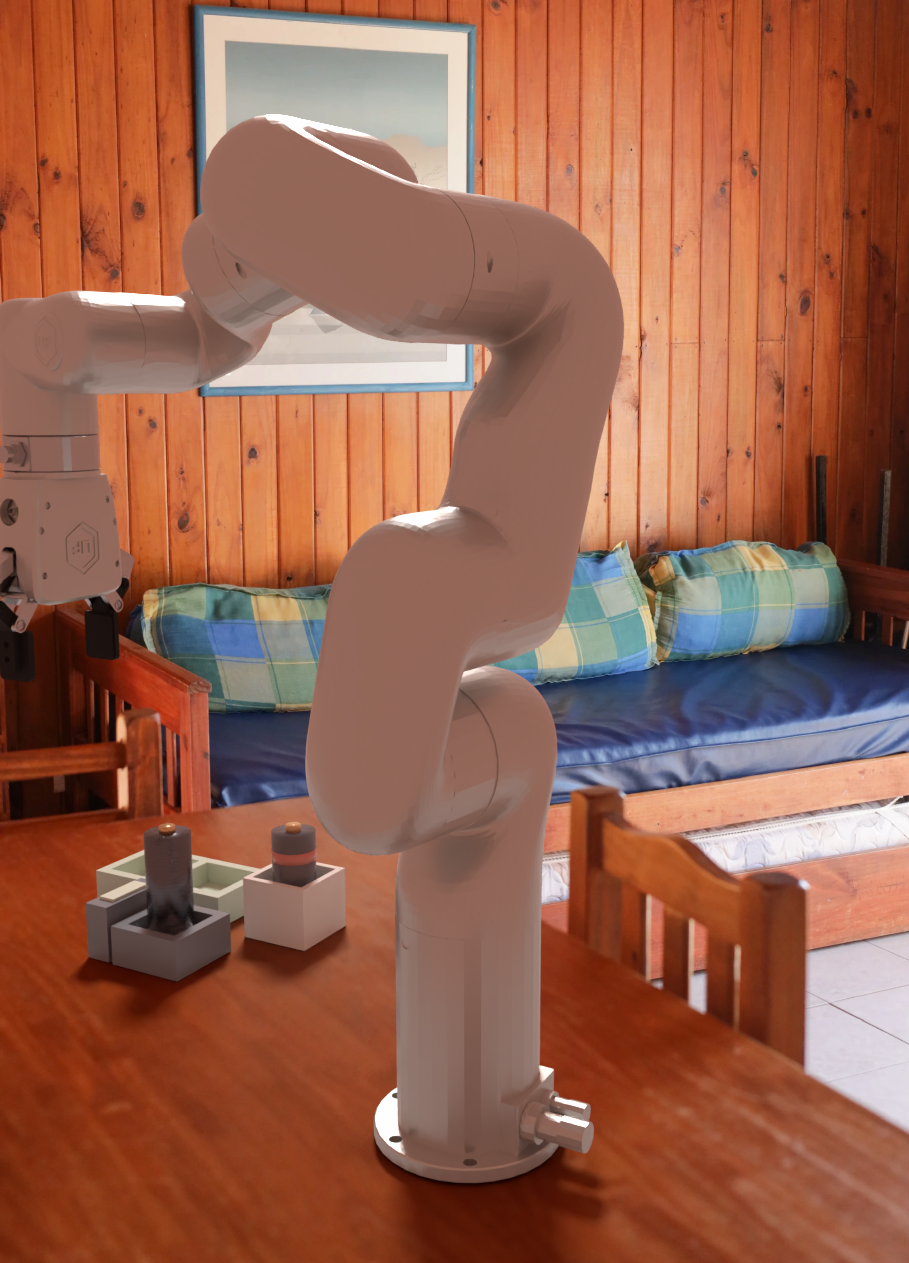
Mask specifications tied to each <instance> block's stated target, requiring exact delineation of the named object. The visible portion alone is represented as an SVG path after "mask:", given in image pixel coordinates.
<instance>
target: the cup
mask: <svg viewBox="0 0 909 1263" xmlns="http://www.w3.org/2000/svg"><path fill="white" fill-rule="evenodd" d="M316 831H317V830H316V827H314V826H312V825H309V824H303V823H301V822H298V821H291V822H286V823H285V824H282V825H278V826H276V827H273V828H272V829H271V831H270V839H271V842H270V844H271V848H270V857H271V858H270V859H271V863H270V864H268V865H266V866H264V867H261V868H259V869H260V870H258V871H256V872H254V873H252V874H250V875H248V876H246V877H244V878H243V896H244V916H243V918H244V919H243V923H244V926H243V927H244V938H248V939H253V940H256V941H260V942H265V943H268V944H269V943H270V944H274V945H278V946H282V947H286V948H291V949H293V950H294V949H295V950H298V951H302V952H305V951H307V950H308V949H310V948H312V947H313V946H316V945H317V944H319V943H320V942H322V941H323V940H325V939H327V938H328V937H330V936H331V935H333V934H335V933H336V932H338V931H339V930H342V929H343V928H344V927H347V912H346V910H347V909H346V908H347V907H346V904H347V903H346V868H345V867H341V866H337V865H332V864H328V863H322V862H318V861H317V858H318V855H317V852H318V851H317V848H318V847H317V836H316V833H317V832H316Z"/></svg>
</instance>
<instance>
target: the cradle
mask: <svg viewBox="0 0 909 1263" xmlns="http://www.w3.org/2000/svg"><path fill="white" fill-rule="evenodd" d="M85 918H86V920H85V921H86V933H87V934H86V935H87V937H86V938H87V950H88V951H87V953H88V954H87V955H88V956H87V957H88V958H90V959H94V960H98V961H101V962H104V963H105V962H106V963H108V964H109V963H112V965H113V966H117V967H122V968H124V969H128V970H133V971H136V972H139V973H143V974H147V975H151V976H155V977H159V978H161V979H166V980H170V981H173V982H176V983H177V982H179V981H181V980H183V979H184V978H187V977H188V976H189V975H192V974H193V973H195V972H197V971H199V970H200V969H202V968H203V967H205V966H207V965H209V964H211V963H212V962H215V961H216V960H217V959H218V960H219V958H221V957H223V956H225V955H227V954H228V953H230V952H232V938H231V937H232V936H231V923H230V913H226V912H222V911H217V910H213V909H209V908H204V907H200V906H196V905H194V923H195V925H194V926H192V927H190V928H188V929H186V930H184V931H182V932H180V933H179V934H177V935H175V936H173V935H169V934H165V933H161V932H157V931H153V930H149V929H148V924H147V901H146V879H144V878H140V879H137V880H135V881H132V882H130V883H128V884H125V885H123V886H121V887H119V888H117V889H114V890H112V891H110V892H108V893H106V894H103V895H101V896H100V897H98V898H97V897H95V898H94V899H91V900H89V901H87V902H85Z"/></svg>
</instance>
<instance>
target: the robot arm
mask: <svg viewBox="0 0 909 1263" xmlns="http://www.w3.org/2000/svg"><path fill="white" fill-rule="evenodd" d="M200 180H201V181H200V187H199V188H200V190H199V193H200V194H199V197H200V198H199V200H200V206H201V210H202V213H200V214H198V215H197V216H196V217H195V218H194V219H193V220H192V221H191V222H190V223H189V225H188V226H187V229H186V231H185V233H184V235H183V237H182V243H181V252H180V254H181V255H180V256H181V266H182V270H183V274H184V278H185V280H186V281H185V282H186V283H187V285H188V289H186V290H184V291H182V292H180V293H178V294H177V293H176V294H174V295H158V294H148V293H147V294H145V293H144V294H143V293H129V292H107V291H94V290H93V291H92V290H68V291H61V292H58V293H55V294H51V295H48V296H46V297H21V298H19V297H17V298H9V299H7V300H4V301H2V302H1V303H0V464H1V465H2V466H1V467H2V468H1V469H2V476H1V477H0V678H1V679H2V680H7V681H8V680H9V681H14V682H21V683H22V682H23V683H30V682H33V681H35V679H36V659H35V657H36V656H35V640H34V639H35V638H34V634H33V630H32V631H31V630H27V627H28V625H29V623H30V621H31V619H32V618H33V616H34V614H35V612H36V610H37V608H38V606H39V605H43V606H53V605H60V604H66V603H67V604H68V603H72V602H78V601H81V600H84V601H85V602H86V604H87V606H88V608H90V609H86V610H84V616H83V618H84V634H85V654H86V656H87V657H89V658H93V659H101V660H108V661H115V660H117V659H118V660H119V658H120V657H121V656H120V654H121V653H120V634H119V633H120V629H119V628H120V627H119V613H120V612H121V611H122V610H123V609H124V601H123V599H124V597H125V595H126V594H127V592H128V590H129V588H130V581H129V580H130V578H131V575H132V571H133V567H134V565H135V564H134V563H135V557H134V555H132V554H130V553H129V552H127V551H125V550H124V549H122V548H121V546H120V545H121V544H120V534H119V526H118V521H117V520H118V519H117V512H116V508H115V502H114V498H113V492H112V490H111V484H110V481H109V479H108V475H107V473H102V472H101V471H102V470H101V455H100V454H101V452H100V449H101V448H100V435H99V432H100V426H99V407H98V406H99V403H98V395H101V396H102V395H111V396H112V395H120V394H121V395H122V394H123V395H126V394H127V395H129V394H131V395H135V394H137V395H138V394H139V395H142V394H143V395H147V394H151V395H152V394H153V395H156V394H158V395H170V394H179V393H186V392H189V391H192V390H195V389H198V388H201V387H203V386H205V385H208V384H210V383H212V382H214V381H216V380H218V379H220V378H222V377H224V376H226V375H228V374H231V373H232V372H234V371H236V370H238V369H240V368H242V367H244V366H245V365H247V364H248V363H249V362H251V361H252V360H253V359H254V358H256V356H257V355H258V354H259V352H260V351H261V350H262V348H263V346H264V345H265V343H266V341H267V339H268V338H269V335H270V333H271V331H272V327H273V324H274V323H276V322H278V321H280V320H281V319H283V318H285V317H287V316H289V315H291V314H293V313H295V312H296V311H298V310H299V309H301V308H304V307H305V306H307V305H311V306H313V307H314V308H316V309H318V310H319V311H321V312H323V313H325V314H327V315H328V316H330V317H332V318H333V319H335V320H337V321H339V322H341V323H343V324H345V325H346V326H348V327H350V328H353V329H354V330H356V331H358V332H360V333H363V334H366V335H368V336H372V337H374V338H376V339H377V338H378V339H381V340H385V341H391V342H397V343H405V344H406V343H407V344H408V343H409V344H417V343H418V344H420V343H421V344H440V345H441V344H444V345H477V346H478V345H481V346H483V347H485V348H486V349H487V350H488V351H489V352H490V355H491V356H490V358H491V360H490V362H489V364H488V366H487V369H486V371H484V373H483V375H482V377H481V378H480V379H479V381H478V383H477V384H476V386H475V387H474V390H472V393H471V395H470V397H469V399H468V400H467V402H466V404H465V407H464V409H463V411H462V414H461V416H460V418H459V422H458V426H457V429H456V432H455V436H454V441H453V449H452V456H451V457H452V458H451V465H450V467H449V474H448V477H447V482H446V485H445V489H444V493H443V496H442V498H441V500H440V503H439V505H438V506H437V507H436V508H435V509H434V510H426V511H417V512H411V513H405V514H399V515H396V516H394V517H390V518H388V519H385V520H382V521H380V522H378V523H376V524H375V525H373V526H371V527H370V528H368V529H367V530H366V531H364V532H363V533H362V534H361V535H360V536H359V537H358V538H357V539H356V541H354V543H353V544H352V545H351V546H350V548H349V549H348V550H347V552H346V554H345V555H344V557H343V559H342V561H341V563H340V565H339V566H338V568H337V571H336V573H335V574H334V575H335V576H334V578H333V581H332V585H331V588H330V591H329V596H328V602H327V606H326V612H325V617H324V618H325V619H324V623H323V629H322V630H323V631H322V637H321V644H320V649H319V656H318V663H317V669H316V675H315V681H314V682H315V683H314V689H313V690H314V691H313V695H312V702H311V709H310V714H309V715H310V716H309V720H308V721H309V723H308V727H307V729H308V730H307V735H306V744H305V760H304V761H305V762H304V763H305V778H306V779H305V780H306V787H307V791H308V792H307V793H308V796H309V799H310V804H311V806H312V809H313V810H314V811H313V812H314V813H315V816H316V818H317V820H318V822H319V823H320V824H321V826H322V827H323V829H324V830H325V831H326V833H327V834H328V835H329V836H330V837H331V838H332V839H333V840H334V841H335V842H337V843H338V844H339V845H341V846H343V847H344V848H346V849H347V850H350V851H352V852H354V853H358V854H361V855H366V856H367V855H368V856H387V855H388V856H389V855H393V854H398V853H399V854H398V858H397V859H398V860H397V866H396V873H395V874H396V875H395V880H394V881H395V886H394V918H395V919H394V921H395V922H394V925H395V926H394V928H395V929H394V931H395V932H394V933H395V935H394V936H395V940H394V941H395V943H394V944H395V1020H396V1021H395V1022H396V1026H395V1030H396V1040H395V1041H396V1088H394V1089H392V1090H391V1091H390V1092H389V1093H387V1094H386V1096H385V1097H384V1098H382V1099H381V1101H380V1102H379V1103H378V1105H377V1107H376V1108H375V1112H374V1115H373V1136H374V1139H375V1143H376V1145H377V1146H378V1147H377V1148H379V1150H380V1151H381V1153H382V1154H383V1155H384V1156H385V1157H386V1158H387V1159H388V1160H390V1161H391V1162H392V1163H394V1164H395V1165H397V1166H398V1167H400V1168H402V1169H403V1170H405V1171H407V1172H410V1173H412V1174H414V1175H417V1176H419V1177H422V1178H428V1179H431V1180H434V1181H437V1182H438V1181H440V1182H448V1183H453V1184H454V1183H455V1184H481V1183H490V1182H491V1183H492V1182H497V1181H498V1182H499V1181H501V1180H507V1179H511V1178H514V1177H517V1176H520V1175H523V1174H526V1173H528V1172H530V1171H532V1170H533V1169H535V1168H537V1167H539V1166H541V1165H542V1164H543V1163H545V1162H546V1161H548V1159H550V1158H551V1157H552V1156H553V1154H554V1153H555V1152H556V1150H557V1149H558V1148H559V1147H561V1148H564V1149H569V1150H573V1151H575V1152H579V1153H582V1154H588V1152H589V1151H590V1149H591V1146H592V1144H593V1140H594V1134H595V1128H594V1124H593V1122H592V1121H590V1117H591V1111H592V1110H591V1109H592V1108H591V1107H592V1106H591V1104H589V1103H587V1102H585V1101H584V1102H583V1101H580V1100H576V1099H573V1098H570V1099H568V1098H565V1097H561V1096H560V1095H559V1092H557V1090H556V1091H555V1090H554V1087H555V1086H554V1085H555V1084H554V1083H555V1069H554V1068H551V1067H547V1066H545V1065H540V1064H541V1062H540V1060H541V1058H540V1057H541V1056H540V1055H541V1053H540V1052H541V965H542V962H541V961H542V960H541V959H542V957H541V955H542V953H541V952H542V949H541V948H542V945H541V944H542V930H541V929H542V912H543V911H542V909H543V908H542V905H543V903H542V902H543V901H542V899H543V862H544V861H543V860H544V845H545V837H546V836H545V835H546V829H547V823H548V822H547V821H548V816H549V811H550V806H551V799H552V794H553V789H554V784H555V777H556V771H557V764H558V763H557V762H558V737H557V736H558V735H557V731H556V725H555V721H554V718H553V714H552V711H551V709H550V708H549V706H548V704H547V702H546V700H545V698H544V697H543V695H542V694H541V693H540V691H539V690H538V689H537V688H536V687H535V685H533V684H532V683H531V682H530V681H528V680H527V679H526V678H524V677H523V676H521V675H520V674H518V673H516V672H513V671H511V670H509V669H506V668H502V667H498V666H494V664H496V663H499V662H504V661H507V660H511V659H513V658H516V657H519V656H523V655H525V654H527V653H530V652H532V651H534V650H536V649H537V648H540V647H542V646H543V645H544V644H545V643H546V642H548V641H549V640H550V639H551V638H552V637H553V635H554V634H555V633H556V631H557V629H558V628H559V627H560V624H561V623H562V621H563V617H564V616H565V612H566V609H567V605H568V603H569V602H568V600H569V596H570V594H571V593H570V592H571V586H572V582H573V578H574V572H575V568H576V564H577V558H578V554H579V549H580V545H581V539H582V535H583V530H584V526H585V520H586V516H587V511H588V506H589V501H590V497H591V492H592V486H593V480H594V474H595V466H596V463H597V458H598V452H599V448H600V443H601V439H602V435H603V433H604V432H603V431H604V428H605V423H606V421H607V416H608V412H609V409H610V405H611V402H612V398H613V395H614V391H615V388H616V384H617V379H618V375H619V370H620V366H621V360H622V355H623V350H624V338H625V321H624V310H623V309H624V308H623V305H622V304H623V303H622V298H621V295H620V294H621V293H620V292H619V287H618V285H617V282H616V279H615V276H614V274H613V272H612V269H611V268H610V266H609V265H608V262H607V261H606V260H605V258H604V256H603V255H602V253H601V252H600V251H599V249H597V247H596V246H595V245H594V243H593V242H592V241H591V240H590V239H589V238H588V237H587V236H586V235H585V234H583V233H582V232H581V231H580V230H579V229H578V228H576V227H575V226H573V225H572V224H570V223H569V222H567V221H566V220H564V219H562V218H560V217H559V216H557V215H555V214H553V213H551V212H549V211H547V210H544V209H541V208H539V207H535V206H532V205H530V204H525V203H522V202H517V201H513V200H509V199H506V198H505V199H504V198H501V197H495V196H490V195H484V194H476V193H470V192H462V191H457V190H453V189H448V188H447V189H446V188H442V187H437V186H430V185H426V184H420V183H419V180H418V178H417V176H416V174H415V171H414V169H413V168H412V166H411V165H410V164H409V163H408V161H407V160H406V158H405V157H404V156H403V155H402V154H400V152H398V151H397V150H396V149H395V148H394V147H393V146H392V145H390V144H389V143H387V142H385V141H383V140H382V139H379V138H378V137H375V136H373V135H370V134H367V133H364V132H361V131H357V130H353V129H348V128H343V127H340V126H339V127H338V126H334V125H329V124H325V123H320V122H315V121H312V120H307V119H301V118H298V117H294V116H289V115H283V114H265V115H263V114H262V115H257V116H253V117H251V118H248V119H246V120H245V119H244V120H243V121H241V122H240V123H238V124H236V125H234V126H233V127H231V128H230V129H229V130H228V131H226V133H225V134H223V136H222V137H220V139H219V140H218V141H217V142H216V144H215V145H214V146H213V147H212V149H211V151H210V153H209V155H208V157H207V159H206V162H205V165H204V168H203V172H202V174H201V179H200ZM17 606H18V608H17V609H16V611H15V612H14V610H15V608H16V607H17ZM492 664H493V666H492Z"/></svg>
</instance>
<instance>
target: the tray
mask: <svg viewBox="0 0 909 1263" xmlns="http://www.w3.org/2000/svg"><path fill="white" fill-rule="evenodd" d="M260 869H261V868H257V867H252V866H248V865H244V864H238V863H235V862H228V861H224V860H221V859H220V860H219V859H215V858H214V859H213V858H211V857H210V858H209V857H205V856H201V855H195V854H192V871H193V897H194V905H196V906H200V907H204V908H209V909H213V910H217V911H222V912H226V913H230V924H231V923H233V922H234V921H236V920H238V919H240V918H242V917H244V896H243V878H244V877H246V876H248V875H250V874H252V873H254V872H256V871H258V870H260ZM95 876H96V898H98V897H100V896H101V895H103V894H106V893H108V892H110V891H112V890H114V889H117V888H119V887H121V886H123V885H125V884H128V883H130V882H132V881H135V880H137V879H140V878H144V879H145V857H144V849H142V850H139V851H138V852H135V853H133V854H131V855H129V856H127V857H123V858H122V859H119V860H117V861H115V862H112V863H110V864H108V865H105V866H103V867H101V868H99V869H96V870H95Z"/></svg>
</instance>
